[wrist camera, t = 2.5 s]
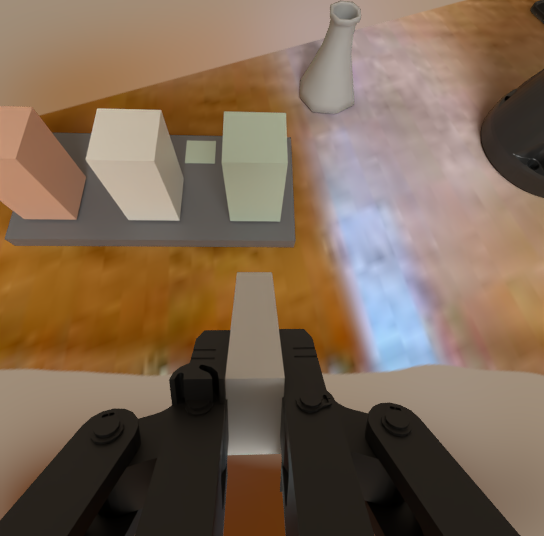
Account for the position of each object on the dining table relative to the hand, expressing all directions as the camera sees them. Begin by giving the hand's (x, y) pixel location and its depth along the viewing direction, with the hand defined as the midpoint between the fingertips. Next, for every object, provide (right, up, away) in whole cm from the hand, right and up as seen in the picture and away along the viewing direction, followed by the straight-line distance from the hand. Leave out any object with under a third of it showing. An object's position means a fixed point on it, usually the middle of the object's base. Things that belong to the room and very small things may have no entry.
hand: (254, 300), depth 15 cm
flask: (+8, +23, +28) cm, 38 cm away
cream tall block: (-11, +8, +20) cm, 24 cm away
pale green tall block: (-1, +8, +20) cm, 22 cm away
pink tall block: (-21, +8, +19) cm, 30 cm away
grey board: (-11, +10, +22) cm, 26 cm away
